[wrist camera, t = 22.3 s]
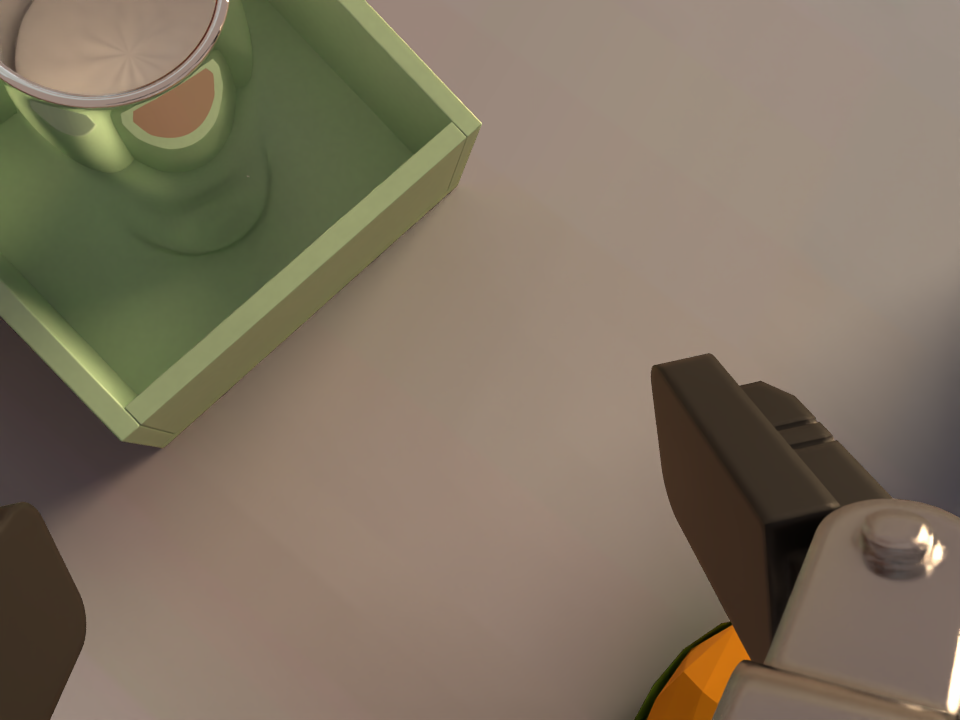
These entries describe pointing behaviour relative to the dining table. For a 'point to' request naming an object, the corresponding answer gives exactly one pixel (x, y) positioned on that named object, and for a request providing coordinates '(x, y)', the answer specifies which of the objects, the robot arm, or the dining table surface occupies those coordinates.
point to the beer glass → (145, 108)
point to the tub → (252, 259)
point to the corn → (695, 678)
